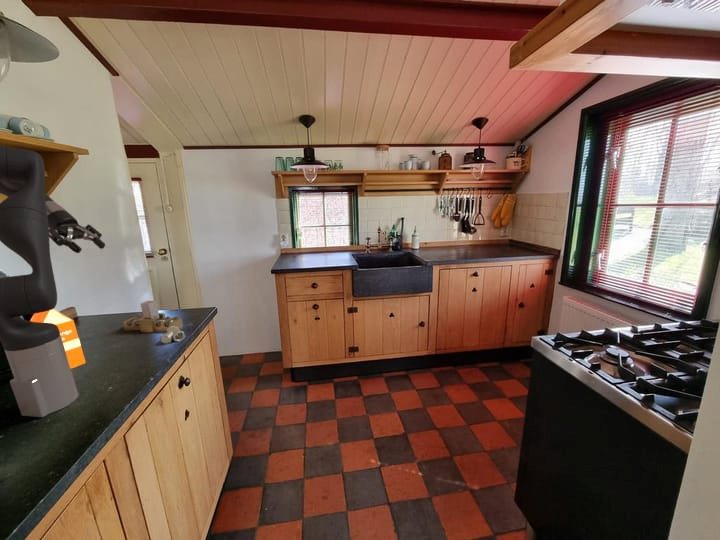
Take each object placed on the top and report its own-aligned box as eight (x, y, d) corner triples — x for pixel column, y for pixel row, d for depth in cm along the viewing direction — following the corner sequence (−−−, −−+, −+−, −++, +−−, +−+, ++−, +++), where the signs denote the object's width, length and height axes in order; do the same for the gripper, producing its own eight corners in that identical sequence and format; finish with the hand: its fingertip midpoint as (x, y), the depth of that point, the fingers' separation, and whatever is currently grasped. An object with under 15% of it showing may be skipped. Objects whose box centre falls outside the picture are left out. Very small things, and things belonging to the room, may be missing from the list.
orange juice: (74, 356, 98) (57, 298, 93) (86, 362, 94) (69, 303, 89) (41, 368, 92) (21, 307, 87) (52, 375, 87) (32, 312, 83)
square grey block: (154, 330, 116) (148, 303, 113) (146, 330, 116) (140, 303, 114) (161, 326, 119) (156, 300, 116) (153, 326, 120) (148, 300, 117)
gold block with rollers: (172, 333, 113) (169, 321, 112) (122, 331, 116) (119, 319, 115) (184, 325, 120) (182, 313, 119) (137, 323, 123) (135, 312, 121)
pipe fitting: (165, 347, 104) (186, 339, 108) (161, 337, 102) (183, 329, 107) (158, 340, 109) (178, 332, 114) (155, 331, 108) (176, 323, 112)
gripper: (36, 210, 97) (75, 245, 99) (80, 208, 111) (115, 238, 112) (27, 227, 99) (66, 260, 101) (72, 222, 113) (106, 252, 114)
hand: (92, 249), depth 107 cm, fingers open, 8 cm apart
